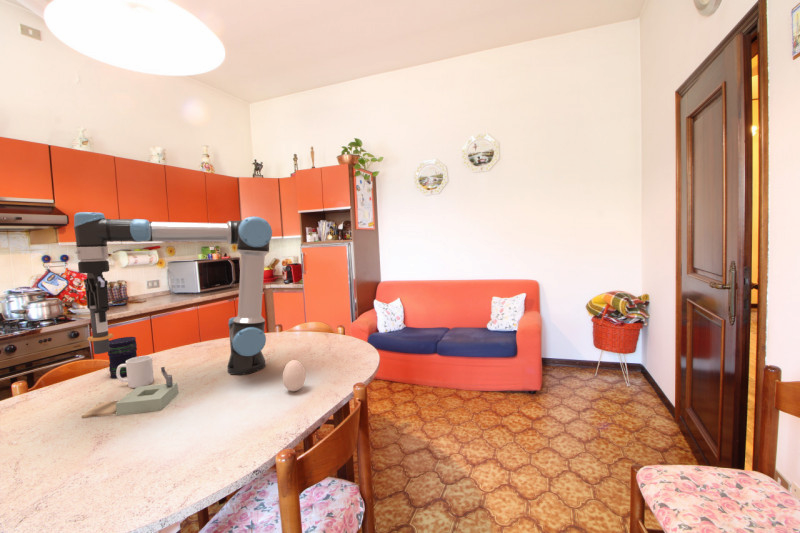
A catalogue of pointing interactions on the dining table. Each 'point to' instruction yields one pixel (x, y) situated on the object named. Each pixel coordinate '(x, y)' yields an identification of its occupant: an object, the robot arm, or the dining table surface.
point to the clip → (167, 377)
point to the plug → (98, 336)
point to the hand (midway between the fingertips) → (100, 330)
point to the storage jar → (121, 354)
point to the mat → (101, 409)
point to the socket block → (146, 399)
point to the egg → (294, 375)
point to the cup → (137, 371)
